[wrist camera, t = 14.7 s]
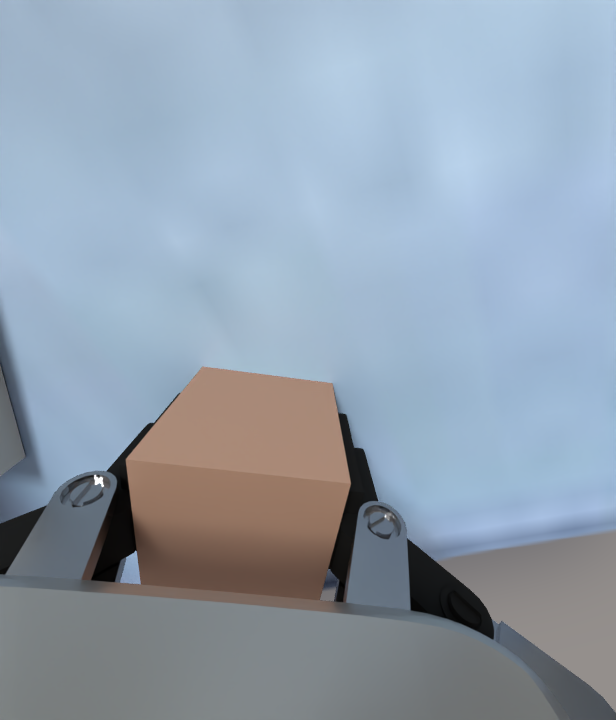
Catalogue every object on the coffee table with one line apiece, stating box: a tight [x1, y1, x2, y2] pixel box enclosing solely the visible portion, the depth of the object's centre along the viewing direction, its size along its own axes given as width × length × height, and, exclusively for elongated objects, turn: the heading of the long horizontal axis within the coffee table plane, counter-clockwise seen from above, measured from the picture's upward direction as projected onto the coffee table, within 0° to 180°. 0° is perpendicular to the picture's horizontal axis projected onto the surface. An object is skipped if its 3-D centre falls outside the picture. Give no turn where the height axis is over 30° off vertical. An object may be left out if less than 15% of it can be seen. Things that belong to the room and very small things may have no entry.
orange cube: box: [126, 367, 351, 600], centre depth 10 cm, size 5×5×5 cm
